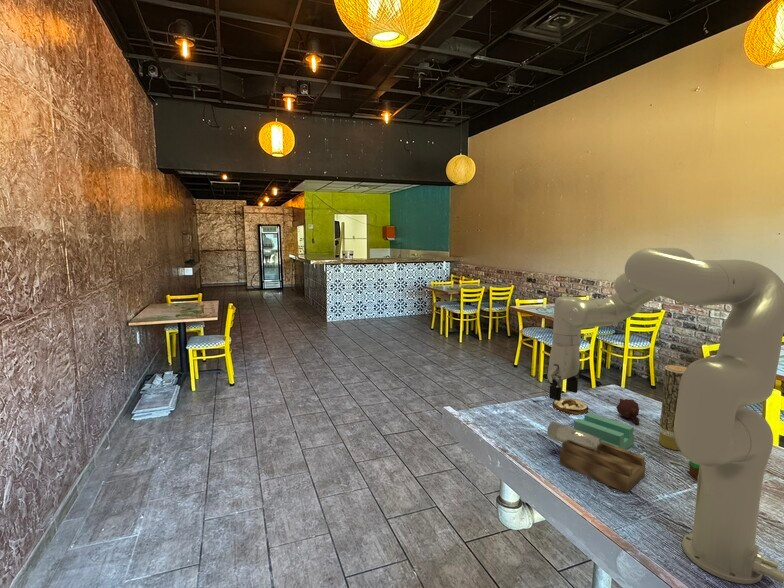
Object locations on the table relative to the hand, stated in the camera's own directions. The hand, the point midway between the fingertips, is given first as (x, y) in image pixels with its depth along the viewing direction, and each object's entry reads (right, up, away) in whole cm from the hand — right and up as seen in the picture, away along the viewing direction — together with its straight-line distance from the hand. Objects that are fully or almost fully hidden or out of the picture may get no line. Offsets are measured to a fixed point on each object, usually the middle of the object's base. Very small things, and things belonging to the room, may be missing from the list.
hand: (563, 395), depth 121 cm
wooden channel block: (+8, -19, -7) cm, 22 cm away
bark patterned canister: (+37, -18, +6) cm, 41 cm away
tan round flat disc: (+17, -14, +36) cm, 43 cm away
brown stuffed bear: (+35, -15, +28) cm, 47 cm away
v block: (+16, -17, +9) cm, 25 cm away
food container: (+33, -20, -9) cm, 39 cm away
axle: (+2, -14, -1) cm, 15 cm away
